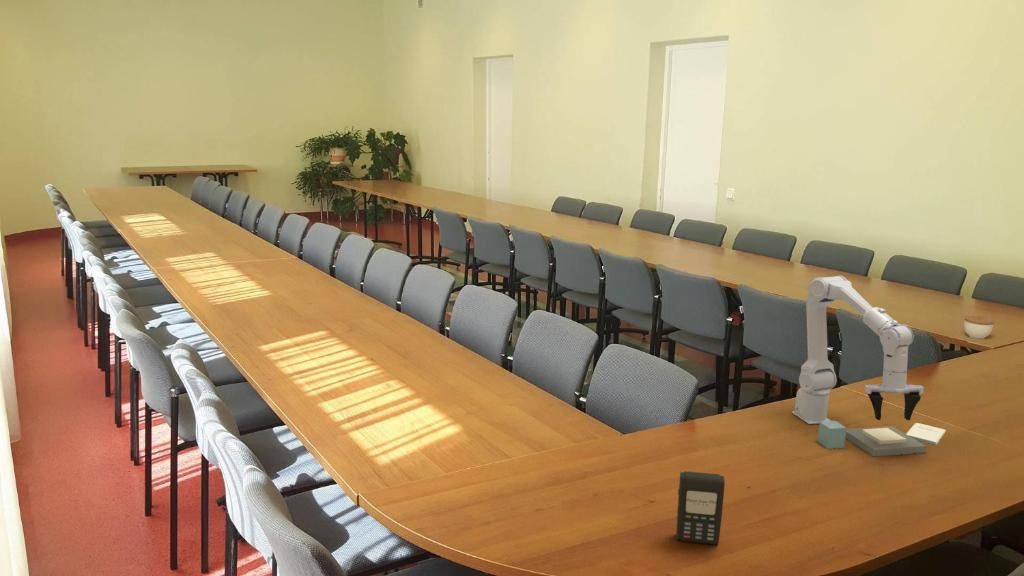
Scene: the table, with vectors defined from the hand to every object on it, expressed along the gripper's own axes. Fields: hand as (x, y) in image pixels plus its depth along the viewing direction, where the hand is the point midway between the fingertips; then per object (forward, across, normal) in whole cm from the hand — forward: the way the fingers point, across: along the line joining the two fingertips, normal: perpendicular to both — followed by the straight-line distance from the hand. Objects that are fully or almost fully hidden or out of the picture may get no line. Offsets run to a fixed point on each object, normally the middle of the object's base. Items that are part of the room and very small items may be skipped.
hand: (892, 419), depth 211 cm
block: (+9, -15, +4) cm, 18 cm away
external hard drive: (+10, +15, +15) cm, 24 cm away
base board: (+9, 0, +6) cm, 11 cm away
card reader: (+11, -60, -52) cm, 80 cm away
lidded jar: (+4, +84, +131) cm, 155 cm away
